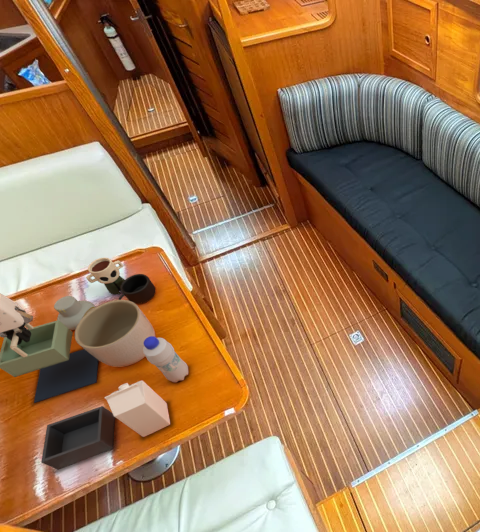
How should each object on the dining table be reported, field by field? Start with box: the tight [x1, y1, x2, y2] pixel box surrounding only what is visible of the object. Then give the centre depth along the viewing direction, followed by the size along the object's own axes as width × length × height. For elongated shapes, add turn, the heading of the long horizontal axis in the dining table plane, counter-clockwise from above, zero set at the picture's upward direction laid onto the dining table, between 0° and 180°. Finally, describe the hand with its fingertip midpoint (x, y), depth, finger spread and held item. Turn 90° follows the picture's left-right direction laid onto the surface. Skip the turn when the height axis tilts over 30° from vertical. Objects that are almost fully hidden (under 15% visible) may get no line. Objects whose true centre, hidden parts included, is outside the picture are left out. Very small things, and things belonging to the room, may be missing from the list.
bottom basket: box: [40, 405, 116, 470], centre depth 105 cm, size 13×10×6 cm
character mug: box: [85, 257, 125, 296], centre depth 137 cm, size 11×7×13 cm, turn 137°
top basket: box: [0, 319, 73, 378], centre depth 108 cm, size 13×10×12 cm
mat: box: [33, 348, 100, 404], centre depth 120 cm, size 16×14×1 cm
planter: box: [74, 299, 156, 368], centre depth 120 cm, size 17×17×15 cm
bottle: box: [143, 336, 189, 383], centre depth 113 cm, size 7×7×20 cm
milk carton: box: [104, 379, 171, 438], centre depth 104 cm, size 7×7×19 cm
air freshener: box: [53, 295, 97, 331], centre depth 129 cm, size 11×8×10 cm
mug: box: [118, 273, 157, 305], centre depth 136 cm, size 12×9×7 cm
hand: (24, 338), depth 106 cm, fingers closed on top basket, 1 cm apart
